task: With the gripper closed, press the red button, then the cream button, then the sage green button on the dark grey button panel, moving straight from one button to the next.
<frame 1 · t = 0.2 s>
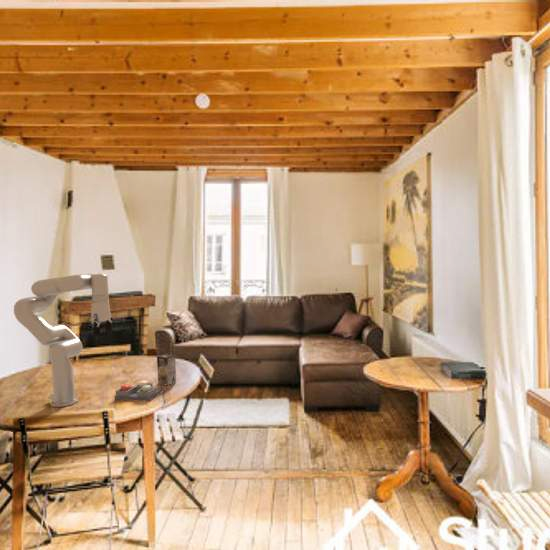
hand: (103, 333, 196), 36 cm above the table, tool pointing down, fingers open, 9 cm apart
coffee box: (167, 383, 229), on the table
button sage: (146, 388, 205), point 5 cm above the table, slide at 0.0 cm
button panel: (140, 395, 210), on the table
button red: (125, 387, 207), point 5 cm above the table, slide at 0.0 cm
button cream: (143, 383, 213), point 5 cm above the table, slide at 0.0 cm
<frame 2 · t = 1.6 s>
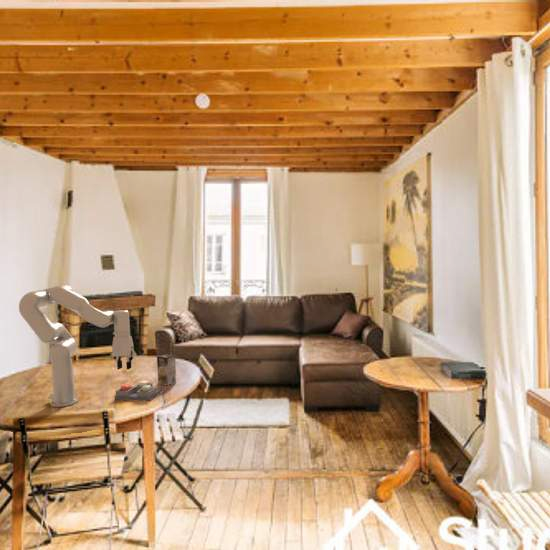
hand: (124, 368, 207), 15 cm above the table, tool pointing down, fingers open, 4 cm apart
nothing on the table moved.
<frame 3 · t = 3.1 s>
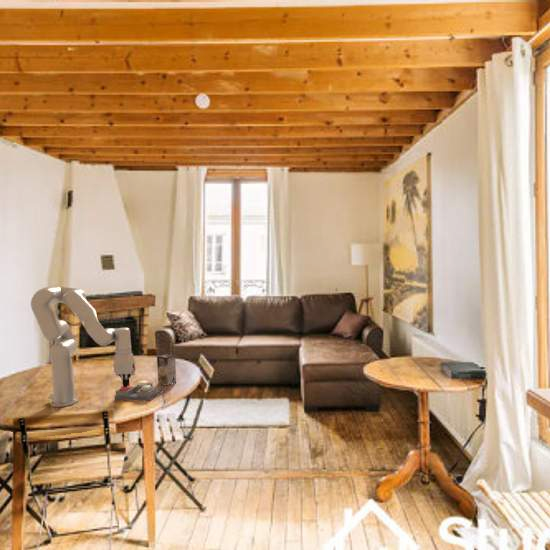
hand: (126, 386, 207), 6 cm above the table, tool pointing down, fingers closed
button red: (125, 388, 207), point 5 cm above the table, slide at 0.2 cm, touching gripper
everything else where it was.
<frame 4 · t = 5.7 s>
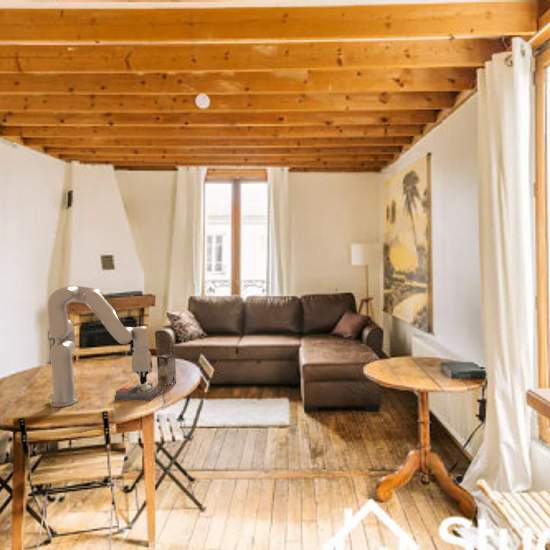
hand: (143, 383, 213), 5 cm above the table, tool pointing down, fingers closed
button red: (125, 389, 207), point 4 cm above the table, slide at 1.1 cm
button cream: (143, 385, 213), point 4 cm above the table, slide at 0.7 cm, touching gripper
everything else where it was.
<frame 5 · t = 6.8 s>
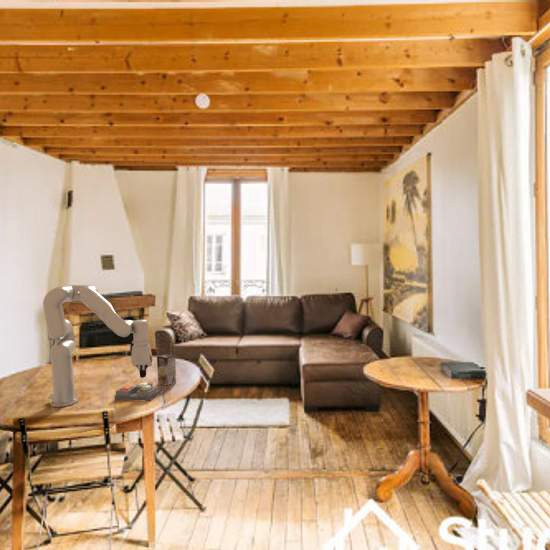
hand: (143, 376, 212), 9 cm above the table, tool pointing down, fingers closed
button cream: (143, 385, 213), point 4 cm above the table, slide at 1.0 cm
everything else where it was.
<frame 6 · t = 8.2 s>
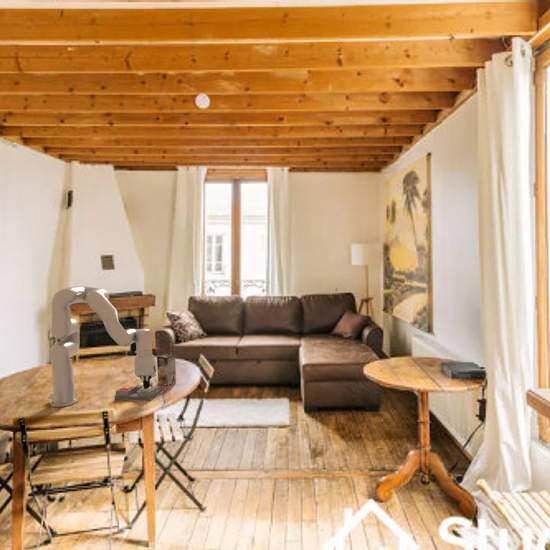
hand: (146, 387, 205), 5 cm above the table, tool pointing down, fingers closed
button sage: (146, 389, 205), point 4 cm above the table, slide at 0.7 cm, touching gripper
everything else where it was.
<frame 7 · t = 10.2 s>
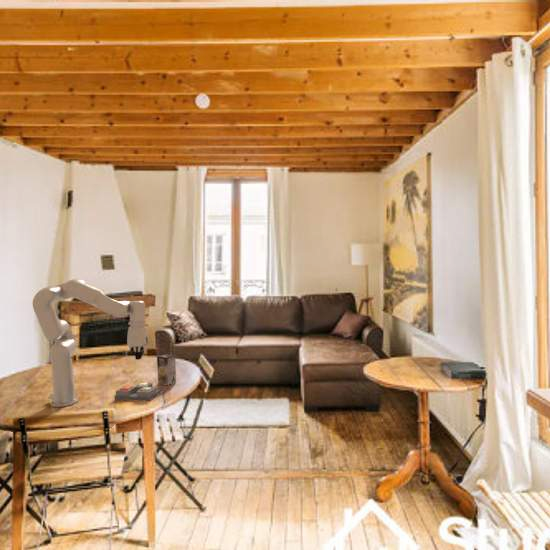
hand: (138, 358, 208), 20 cm above the table, tool pointing down, fingers closed
button sage: (146, 390, 205), point 4 cm above the table, slide at 1.0 cm
everything else where it was.
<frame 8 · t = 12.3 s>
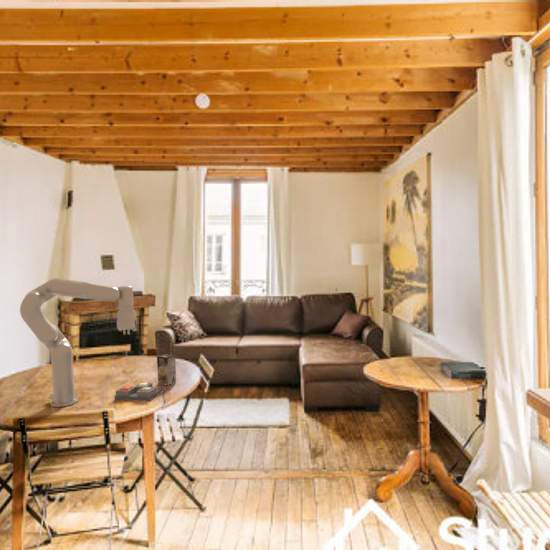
hand: (128, 341, 218), 27 cm above the table, tool pointing down, fingers closed
nothing on the table moved.
at the end: button red slide at 1.1 cm; button cream slide at 1.0 cm; button sage slide at 1.0 cm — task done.
